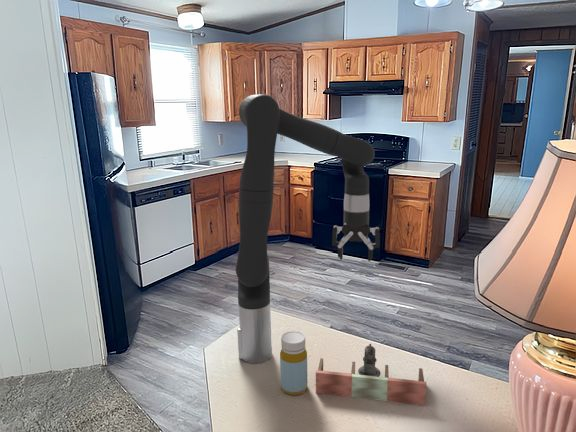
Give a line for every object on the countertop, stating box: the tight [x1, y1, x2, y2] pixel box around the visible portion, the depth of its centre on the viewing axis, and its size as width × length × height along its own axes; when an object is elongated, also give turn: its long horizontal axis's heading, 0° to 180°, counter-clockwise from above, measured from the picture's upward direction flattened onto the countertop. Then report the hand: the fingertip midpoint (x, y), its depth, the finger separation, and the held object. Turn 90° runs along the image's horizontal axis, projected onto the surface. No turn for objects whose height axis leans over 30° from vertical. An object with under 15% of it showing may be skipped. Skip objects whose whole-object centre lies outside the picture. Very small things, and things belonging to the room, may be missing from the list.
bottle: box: [279, 330, 308, 396], centre depth 111 cm, size 7×7×15 cm
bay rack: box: [315, 357, 427, 406], centre depth 112 cm, size 27×10×6 cm, turn 78°
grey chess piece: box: [357, 343, 381, 377], centre depth 112 cm, size 6×6×12 cm
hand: (355, 259), depth 131 cm, fingers open, 8 cm apart
